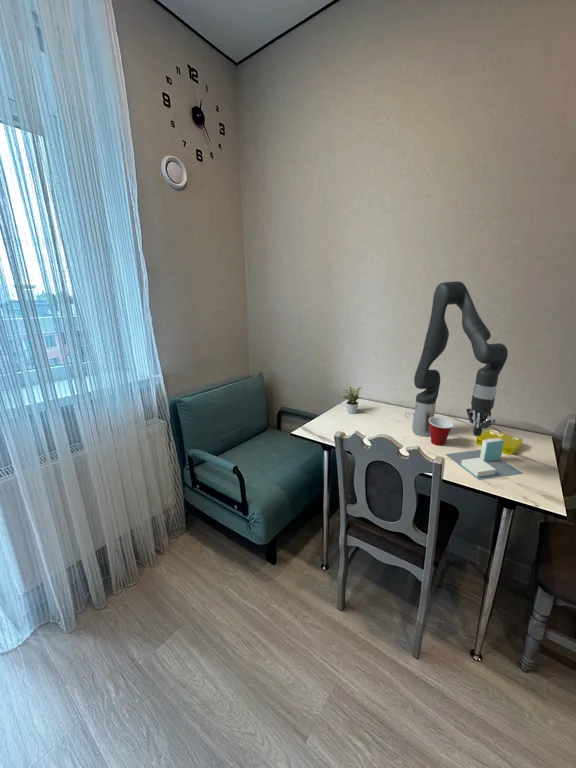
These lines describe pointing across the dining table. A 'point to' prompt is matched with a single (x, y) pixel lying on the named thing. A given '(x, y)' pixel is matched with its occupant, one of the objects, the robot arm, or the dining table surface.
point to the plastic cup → (439, 430)
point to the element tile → (510, 441)
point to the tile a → (478, 467)
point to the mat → (499, 465)
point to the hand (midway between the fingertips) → (476, 435)
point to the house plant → (352, 400)
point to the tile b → (491, 449)
